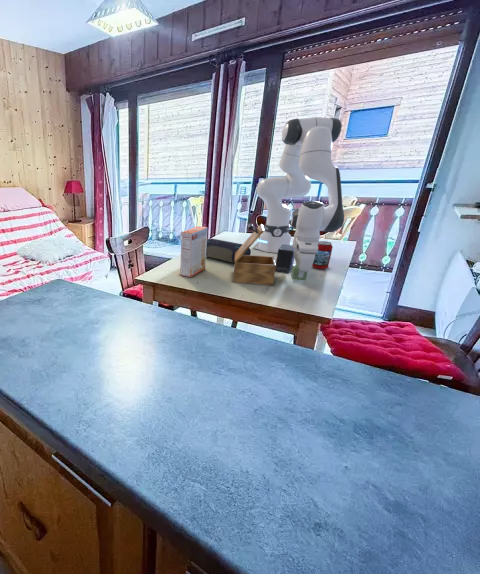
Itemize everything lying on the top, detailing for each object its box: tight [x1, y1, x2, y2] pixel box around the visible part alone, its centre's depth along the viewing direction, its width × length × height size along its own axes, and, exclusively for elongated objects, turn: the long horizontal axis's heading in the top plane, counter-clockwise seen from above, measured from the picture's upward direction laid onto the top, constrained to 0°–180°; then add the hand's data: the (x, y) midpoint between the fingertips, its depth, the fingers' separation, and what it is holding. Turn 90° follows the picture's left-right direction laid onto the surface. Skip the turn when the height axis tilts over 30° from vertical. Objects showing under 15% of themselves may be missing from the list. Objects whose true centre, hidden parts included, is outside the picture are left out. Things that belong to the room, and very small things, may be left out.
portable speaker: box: [206, 238, 252, 264], centre depth 169 cm, size 25×10×10 cm, turn 36°
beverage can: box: [312, 240, 333, 270], centre depth 150 cm, size 7×7×12 cm
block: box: [290, 264, 309, 282], centre depth 138 cm, size 5×5×5 cm
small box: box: [275, 244, 295, 273], centre depth 152 cm, size 11×6×10 cm, turn 143°
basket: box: [232, 254, 276, 286], centre depth 143 cm, size 16×13×9 cm
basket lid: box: [235, 222, 265, 262], centre depth 140 cm, size 17×13×5 cm
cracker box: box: [179, 225, 208, 278], centre depth 152 cm, size 14×6×21 cm, turn 134°
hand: (299, 274), depth 138 cm, fingers closed on block, 5 cm apart
